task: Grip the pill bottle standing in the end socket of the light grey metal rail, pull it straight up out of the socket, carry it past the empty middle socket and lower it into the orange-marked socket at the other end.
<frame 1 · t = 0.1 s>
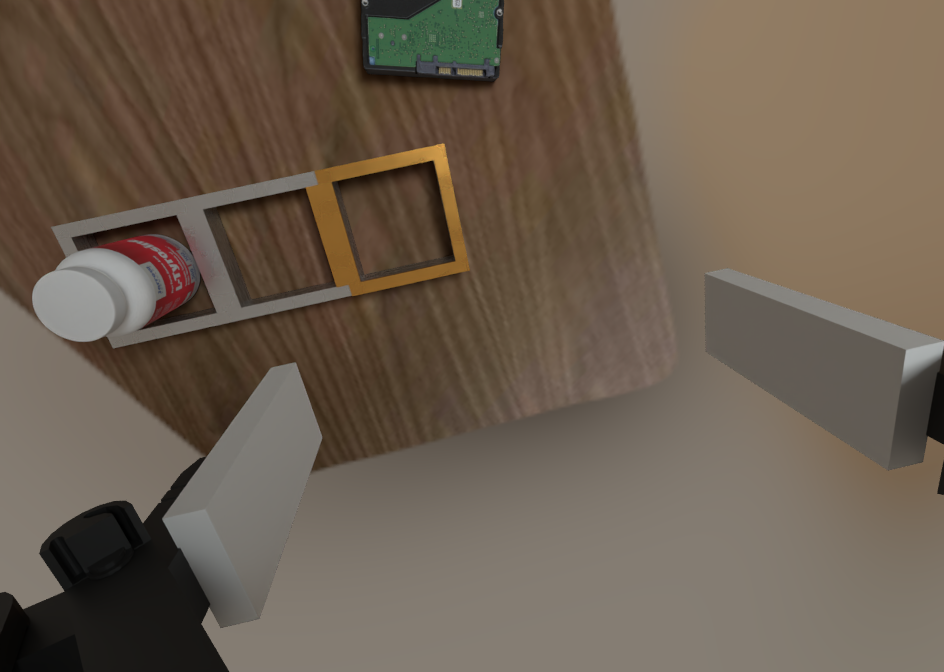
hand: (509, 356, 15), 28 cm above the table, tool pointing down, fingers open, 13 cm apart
pill bottle: (164, 269, 40), resting in socket rail
socket rail: (281, 244, 40), on the table
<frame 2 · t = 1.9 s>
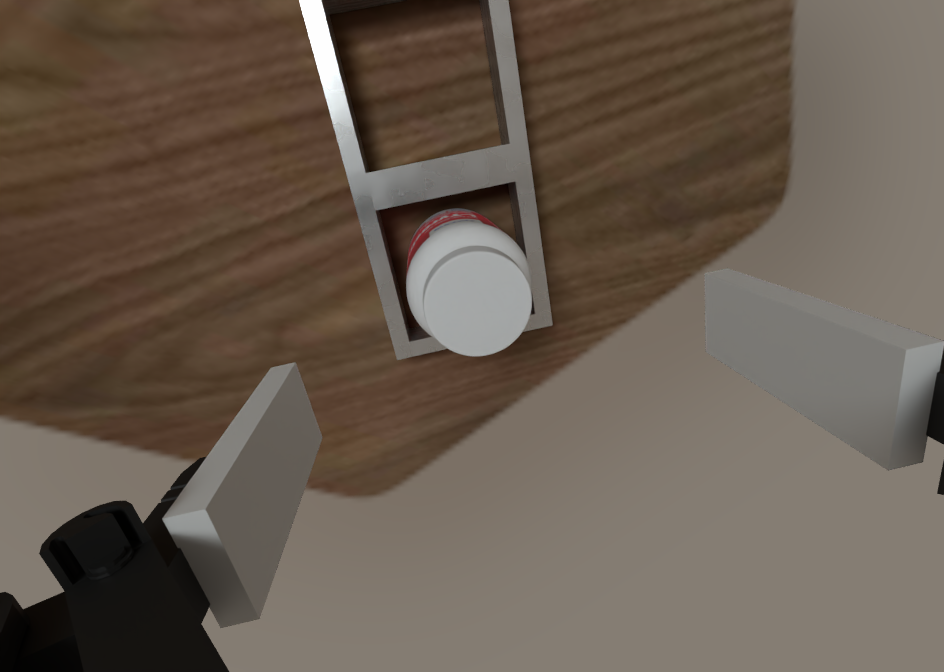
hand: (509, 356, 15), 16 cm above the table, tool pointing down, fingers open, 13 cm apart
pill bottle: (455, 256, 30), resting in socket rail
socket rail: (420, 84, 27), on the table
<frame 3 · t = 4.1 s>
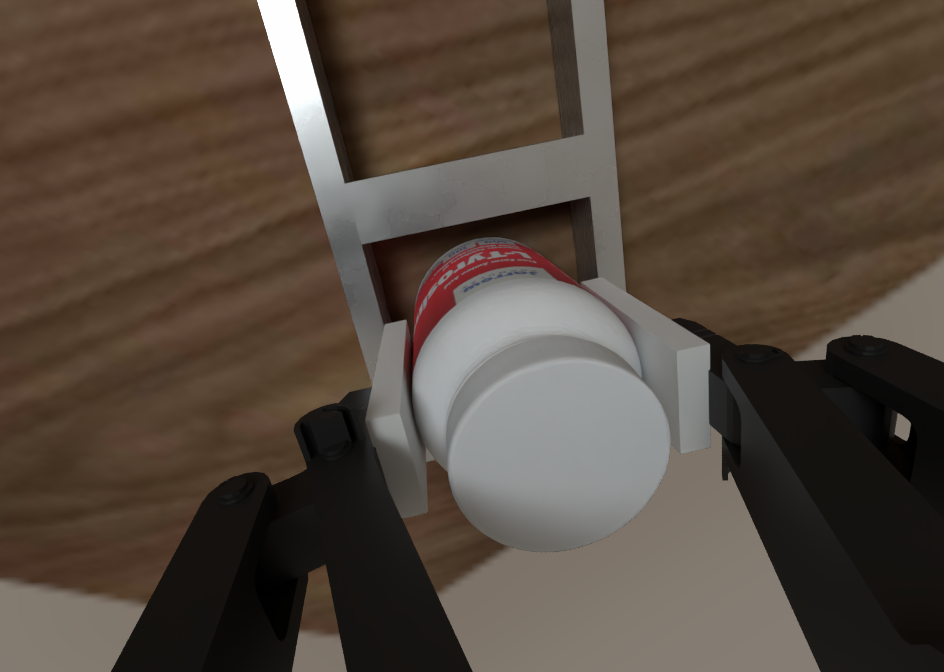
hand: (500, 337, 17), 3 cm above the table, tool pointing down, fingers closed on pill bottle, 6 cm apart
pill bottle: (486, 307, 20), resting in socket rail, touching gripper
socket rail: (436, 38, 16), on the table
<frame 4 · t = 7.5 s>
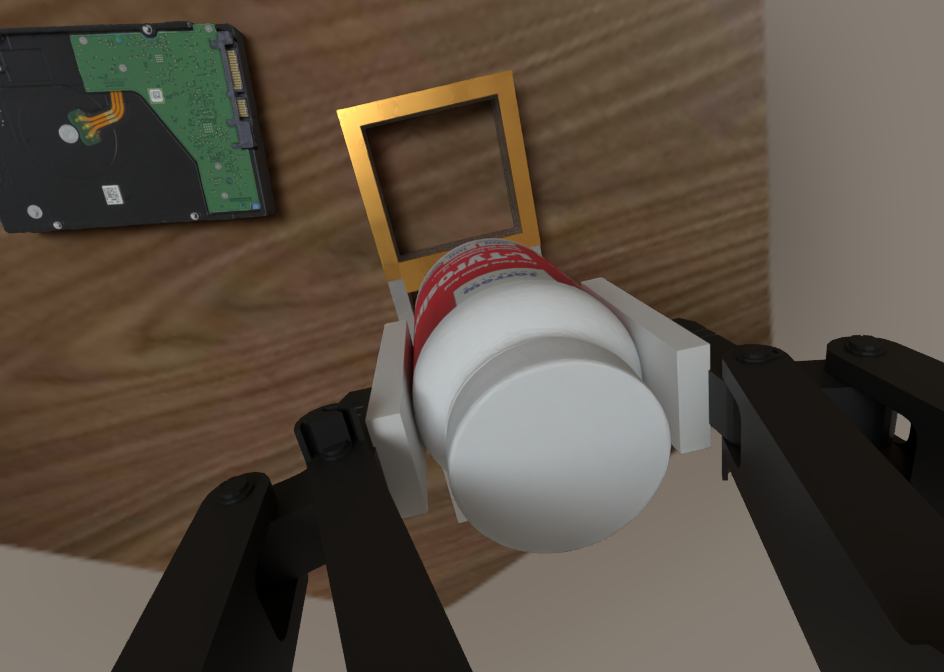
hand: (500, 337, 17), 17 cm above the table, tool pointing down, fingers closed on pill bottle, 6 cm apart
pill bottle: (487, 308, 20), point 13 cm above the table, touching gripper
socket rail: (476, 322, 34), on the table
disk drive: (139, 134, 29), on the table
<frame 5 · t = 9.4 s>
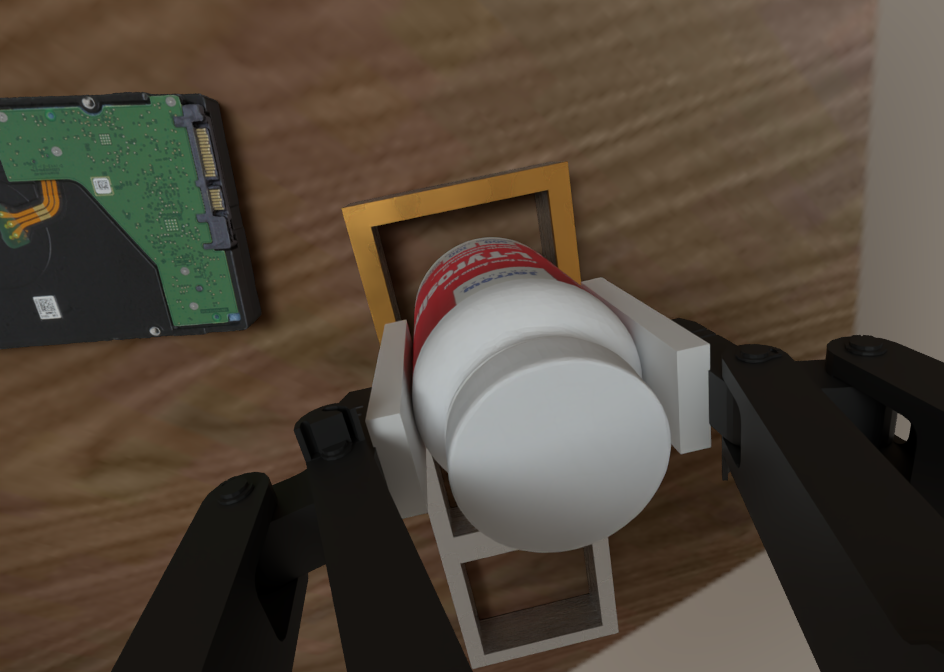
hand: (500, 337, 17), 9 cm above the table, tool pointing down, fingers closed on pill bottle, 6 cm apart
pill bottle: (486, 307, 20), point 5 cm above the table, touching gripper
socket rail: (501, 440, 28), on the table
disk drive: (87, 223, 23), on the table
when the fingers open (5 cm above the table, at t = 10.9 s): pill bottle drops 1 cm, resting in socket rail.
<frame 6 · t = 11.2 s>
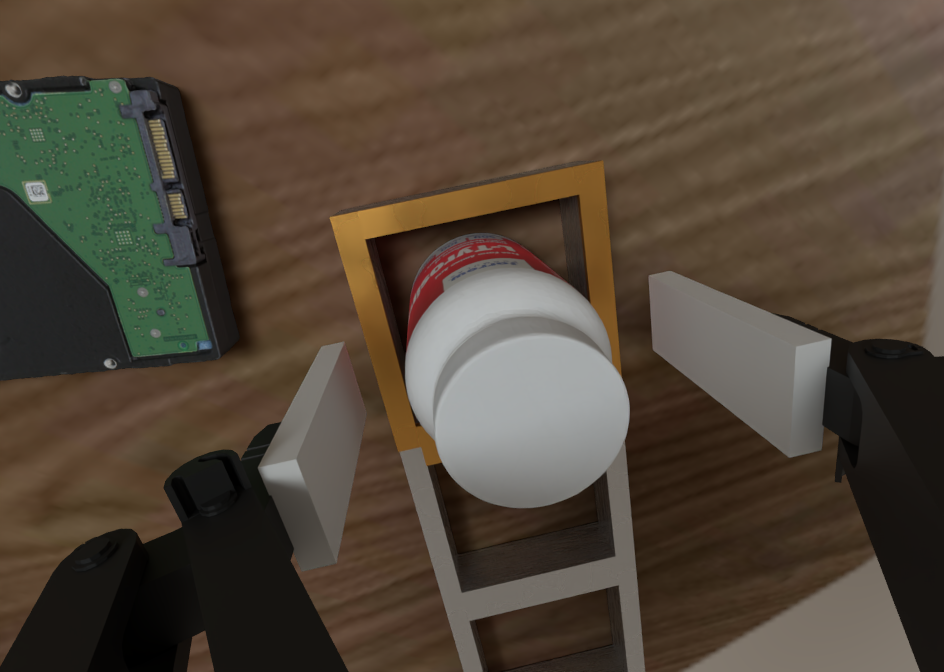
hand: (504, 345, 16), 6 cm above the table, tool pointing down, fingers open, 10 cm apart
pill bottle: (477, 299, 21), resting in socket rail
socket rail: (517, 479, 25), on the table
disk drive: (31, 236, 19), on the table
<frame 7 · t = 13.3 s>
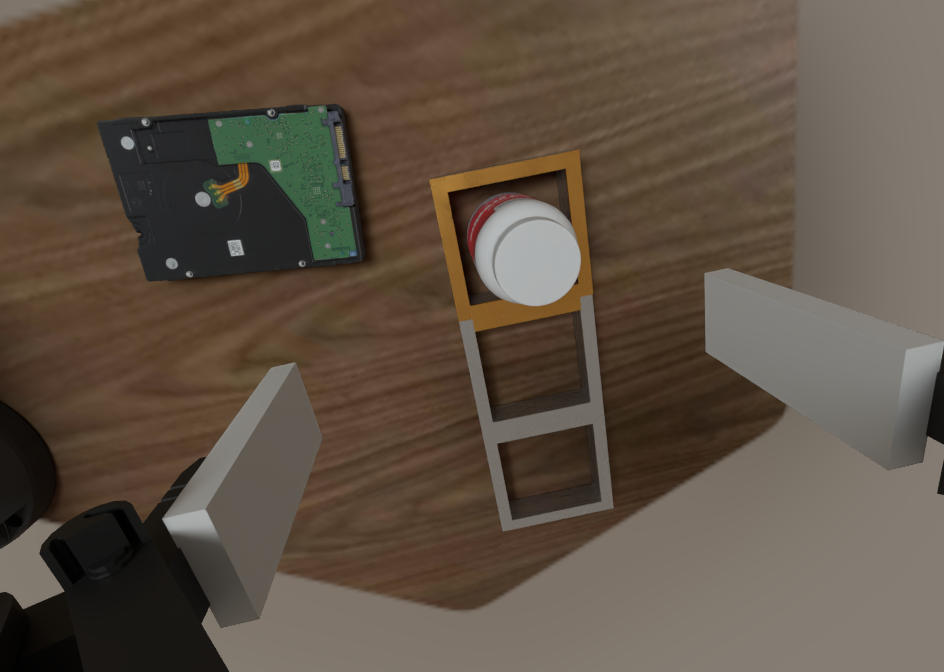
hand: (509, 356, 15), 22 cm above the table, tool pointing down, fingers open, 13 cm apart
pill bottle: (506, 234, 36), resting in socket rail
socket rail: (528, 355, 39), on the table
disk drive: (253, 193, 34), on the table
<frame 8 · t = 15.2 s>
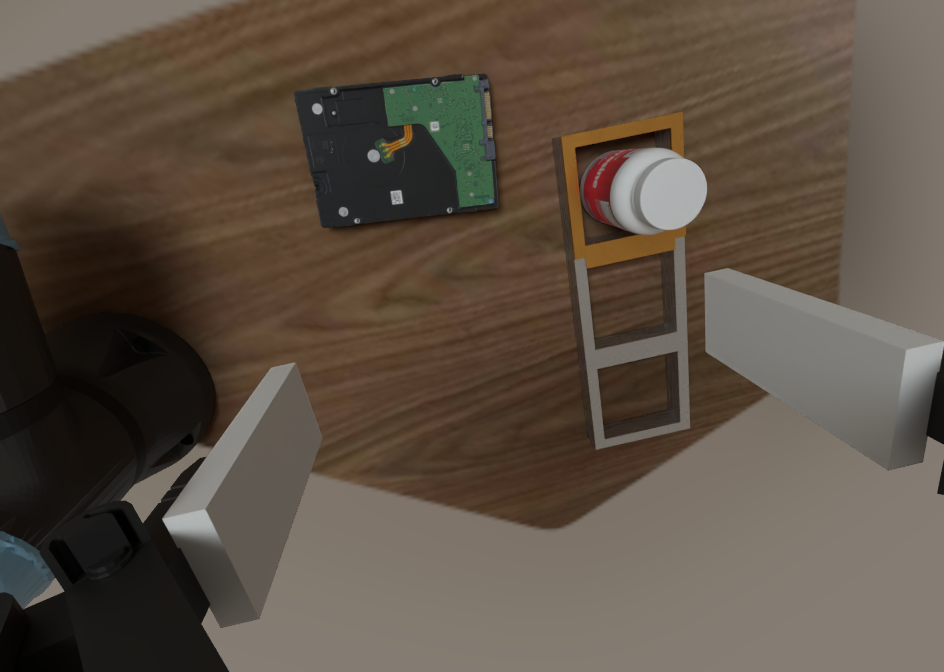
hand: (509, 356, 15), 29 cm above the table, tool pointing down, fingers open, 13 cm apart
pill bottle: (610, 187, 42), resting in socket rail
socket rail: (622, 294, 46), on the table
disk drive: (403, 153, 40), on the table
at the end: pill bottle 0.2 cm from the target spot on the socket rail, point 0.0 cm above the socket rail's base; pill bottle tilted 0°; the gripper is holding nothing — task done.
